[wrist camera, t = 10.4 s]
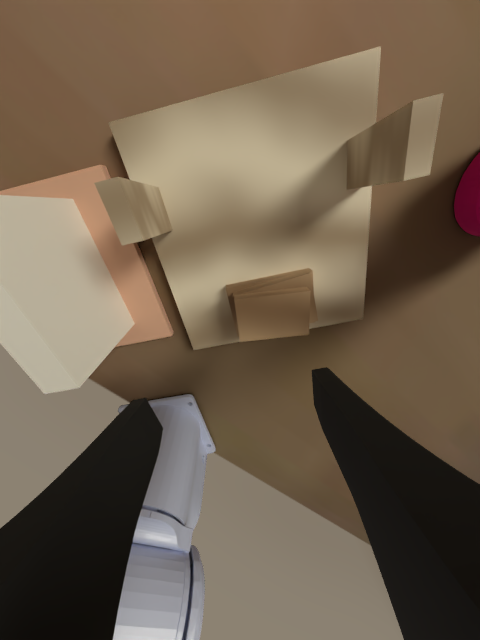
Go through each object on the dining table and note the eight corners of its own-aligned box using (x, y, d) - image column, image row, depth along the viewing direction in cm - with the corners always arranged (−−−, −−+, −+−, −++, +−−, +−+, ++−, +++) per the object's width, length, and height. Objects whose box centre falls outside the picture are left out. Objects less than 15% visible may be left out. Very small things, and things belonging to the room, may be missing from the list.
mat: (173, 332, 19) (171, 336, 18) (98, 346, 19) (94, 350, 19) (105, 166, 13) (100, 164, 13) (2, 193, 14) (-7, 192, 13)
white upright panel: (72, 198, 13) (-69, 191, 7) (135, 323, 17) (79, 388, 11) (43, 206, 14) (-120, 205, 7) (111, 328, 18) (44, 394, 11)
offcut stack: (311, 317, 17) (322, 333, 15) (237, 331, 18) (237, 348, 15) (308, 265, 15) (320, 275, 13) (225, 282, 16) (223, 294, 13)
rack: (356, 313, 18) (407, 357, 13) (195, 343, 19) (180, 395, 14) (369, 59, 11) (490, -75, 6) (117, 128, 12) (28, 69, 7)
